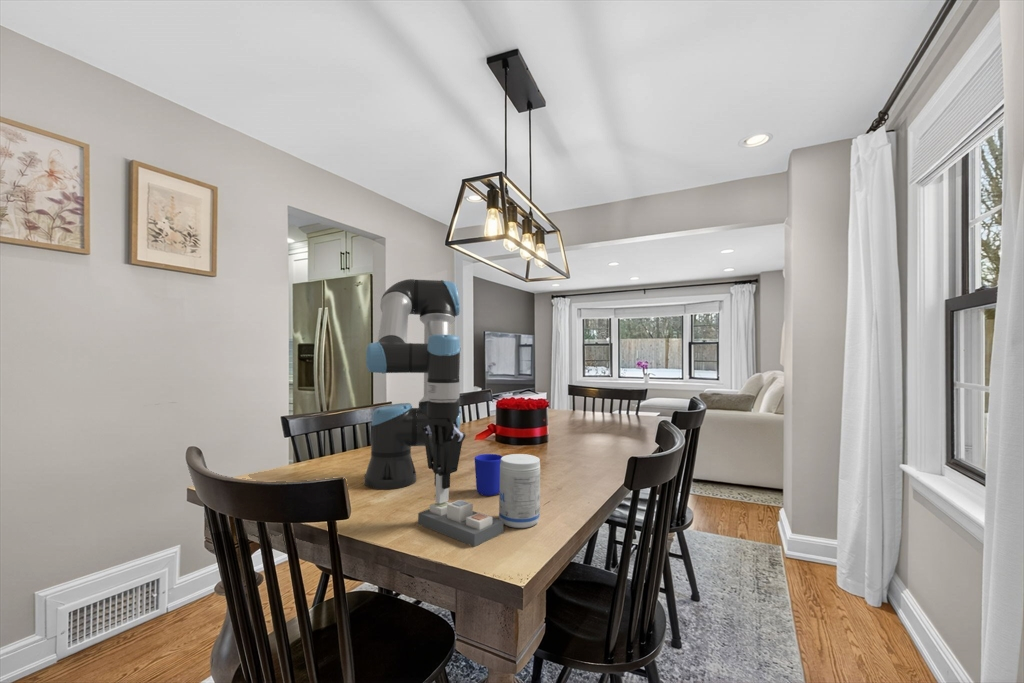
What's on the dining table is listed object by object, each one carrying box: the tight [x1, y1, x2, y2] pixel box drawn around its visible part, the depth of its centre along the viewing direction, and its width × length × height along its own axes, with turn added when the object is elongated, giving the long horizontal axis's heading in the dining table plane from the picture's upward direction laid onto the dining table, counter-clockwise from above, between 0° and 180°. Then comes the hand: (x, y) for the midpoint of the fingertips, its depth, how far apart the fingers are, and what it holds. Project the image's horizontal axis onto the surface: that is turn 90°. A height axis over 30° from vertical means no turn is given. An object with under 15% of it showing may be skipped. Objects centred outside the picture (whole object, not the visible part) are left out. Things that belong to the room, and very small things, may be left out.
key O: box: [466, 512, 493, 530], centre depth 93 cm, size 4×4×3 cm
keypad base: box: [417, 508, 504, 547], centre depth 97 cm, size 18×9×2 cm, turn 51°
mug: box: [474, 453, 504, 497], centre depth 121 cm, size 8×12×10 cm
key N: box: [429, 501, 451, 516], centre depth 100 cm, size 4×4×3 cm
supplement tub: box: [498, 453, 541, 529], centre depth 101 cm, size 10×10×15 cm
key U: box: [447, 499, 474, 523], centre depth 97 cm, size 4×4×3 cm
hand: (441, 501), depth 101 cm, fingers closed
